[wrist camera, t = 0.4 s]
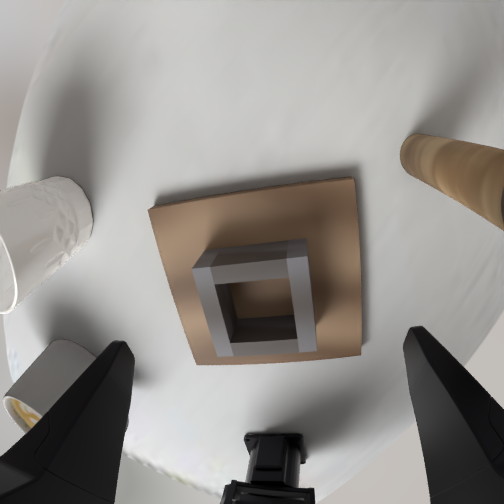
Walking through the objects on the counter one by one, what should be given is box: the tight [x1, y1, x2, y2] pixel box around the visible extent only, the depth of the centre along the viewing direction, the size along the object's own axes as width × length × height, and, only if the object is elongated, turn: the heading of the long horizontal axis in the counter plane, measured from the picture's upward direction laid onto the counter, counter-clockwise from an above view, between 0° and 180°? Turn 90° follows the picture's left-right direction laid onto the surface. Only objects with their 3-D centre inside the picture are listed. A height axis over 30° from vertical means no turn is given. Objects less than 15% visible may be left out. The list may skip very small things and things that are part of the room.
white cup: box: [0, 176, 93, 314], centre depth 19 cm, size 8×8×10 cm
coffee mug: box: [3, 339, 129, 434], centre depth 27 cm, size 13×10×10 cm
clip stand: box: [148, 177, 362, 365], centre depth 22 cm, size 14×14×4 cm
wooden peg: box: [400, 134, 504, 231], centre depth 13 cm, size 3×3×13 cm
